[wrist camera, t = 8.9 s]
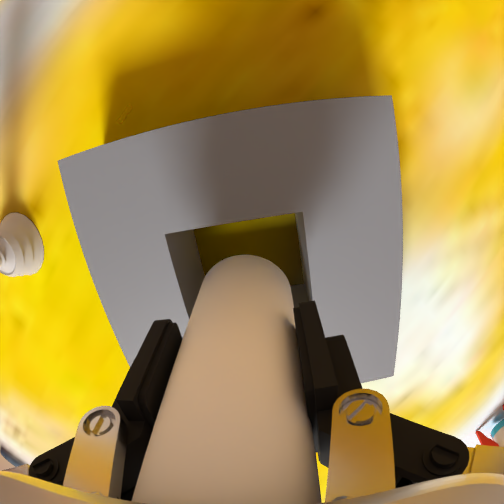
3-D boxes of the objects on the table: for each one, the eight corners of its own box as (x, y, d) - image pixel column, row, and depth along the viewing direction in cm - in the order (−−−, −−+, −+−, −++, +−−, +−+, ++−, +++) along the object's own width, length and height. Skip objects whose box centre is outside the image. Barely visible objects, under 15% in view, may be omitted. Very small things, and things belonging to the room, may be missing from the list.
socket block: (103, 150, 17) (57, 160, 13) (357, 102, 16) (391, 95, 11) (166, 355, 23) (149, 403, 18) (371, 328, 21) (393, 375, 17)
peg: (191, 261, 14) (68, 556, 3) (285, 247, 13) (334, 586, 2) (212, 337, 15) (162, 595, 4) (296, 327, 15) (327, 599, 4)
